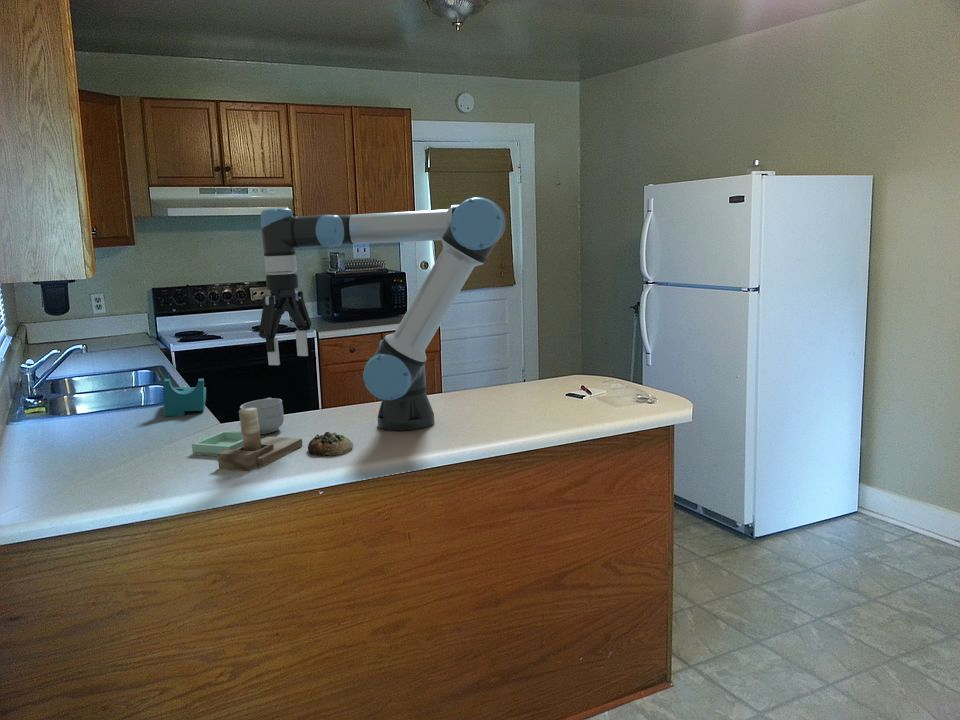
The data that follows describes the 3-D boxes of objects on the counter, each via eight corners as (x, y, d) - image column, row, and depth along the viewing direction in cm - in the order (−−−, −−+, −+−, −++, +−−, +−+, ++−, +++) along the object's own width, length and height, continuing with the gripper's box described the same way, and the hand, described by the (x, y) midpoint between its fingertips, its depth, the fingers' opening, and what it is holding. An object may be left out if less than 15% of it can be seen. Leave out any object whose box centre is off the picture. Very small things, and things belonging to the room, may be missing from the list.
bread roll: (298, 451, 184) (299, 430, 184) (335, 446, 192) (337, 426, 192) (325, 461, 177) (326, 439, 176) (363, 455, 185) (365, 435, 184)
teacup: (273, 437, 197) (270, 407, 196) (234, 437, 200) (231, 407, 198) (296, 423, 211) (294, 395, 209) (260, 423, 213) (257, 395, 212)
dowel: (265, 448, 180) (260, 407, 178) (256, 454, 177) (250, 412, 175) (250, 448, 181) (244, 407, 180) (240, 453, 178) (235, 412, 176)
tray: (260, 442, 193) (260, 433, 192) (230, 456, 182) (229, 446, 181) (224, 440, 197) (223, 430, 196) (192, 454, 186) (191, 444, 185)
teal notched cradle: (203, 415, 228) (203, 380, 226) (164, 416, 225) (163, 381, 223) (206, 402, 245) (205, 370, 243) (169, 403, 242) (169, 370, 240)
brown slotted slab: (302, 448, 189) (301, 434, 188) (263, 469, 174) (261, 453, 173) (268, 446, 192) (267, 431, 191) (226, 465, 177) (225, 450, 177)
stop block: (256, 466, 173) (255, 451, 173) (248, 470, 171) (247, 455, 170) (227, 464, 176) (225, 449, 176) (219, 468, 173) (217, 453, 173)
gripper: (295, 269, 200) (302, 351, 204) (237, 277, 178) (246, 369, 182) (320, 269, 198) (327, 352, 201) (264, 276, 175) (273, 369, 179)
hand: (289, 360), depth 192 cm, fingers open, 12 cm apart
